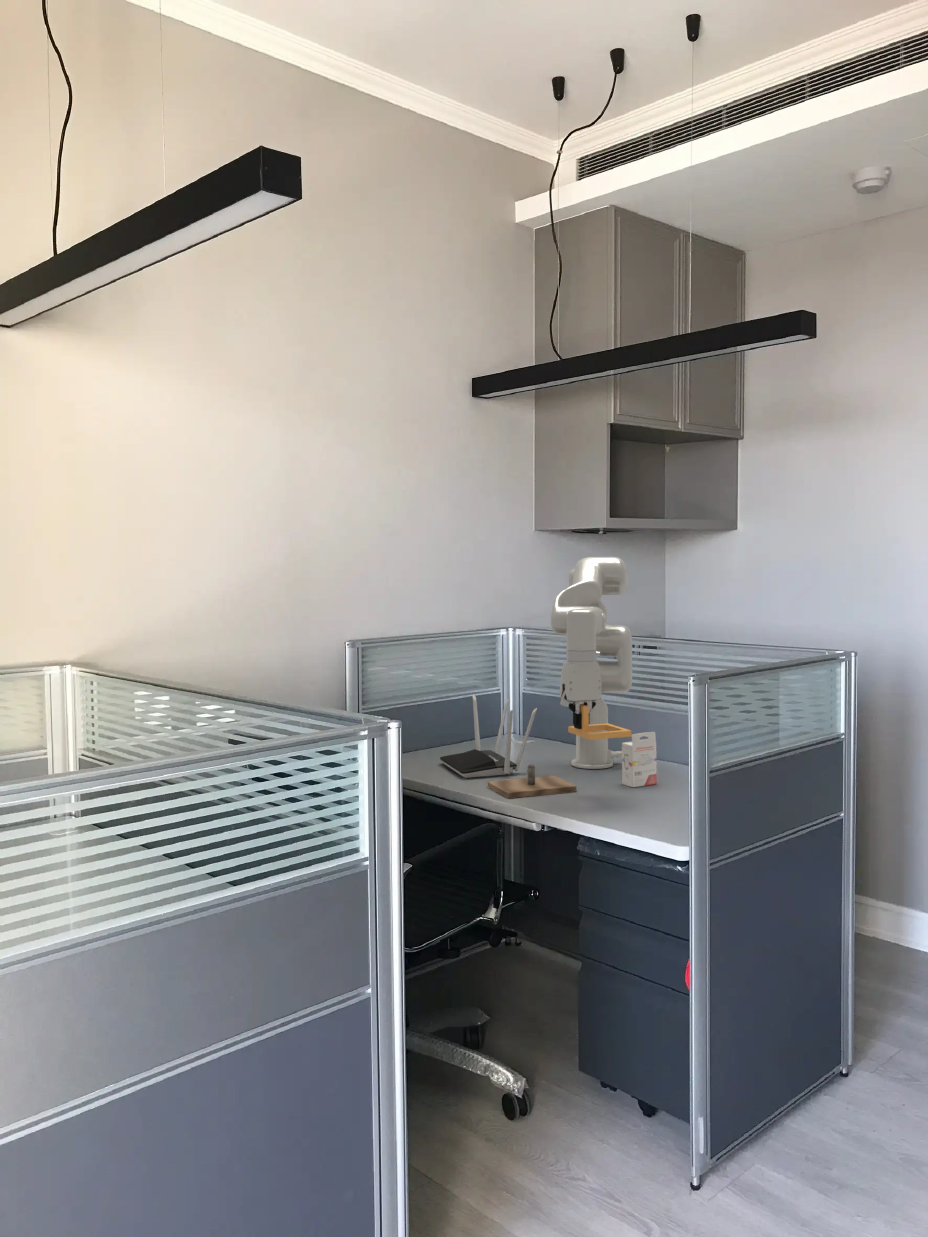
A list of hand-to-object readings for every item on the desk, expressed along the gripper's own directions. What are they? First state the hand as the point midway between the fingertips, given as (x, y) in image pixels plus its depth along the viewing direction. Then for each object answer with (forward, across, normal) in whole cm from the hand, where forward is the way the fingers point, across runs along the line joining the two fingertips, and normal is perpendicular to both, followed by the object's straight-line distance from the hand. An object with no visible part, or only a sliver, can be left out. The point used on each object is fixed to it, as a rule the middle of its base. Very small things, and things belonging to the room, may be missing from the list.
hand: (581, 727), depth 254 cm
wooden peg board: (+19, +7, -16) cm, 26 cm away
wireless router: (+19, +8, -45) cm, 49 cm away
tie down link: (+2, -5, 0) cm, 6 cm away
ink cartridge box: (+19, -23, -10) cm, 32 cm away
